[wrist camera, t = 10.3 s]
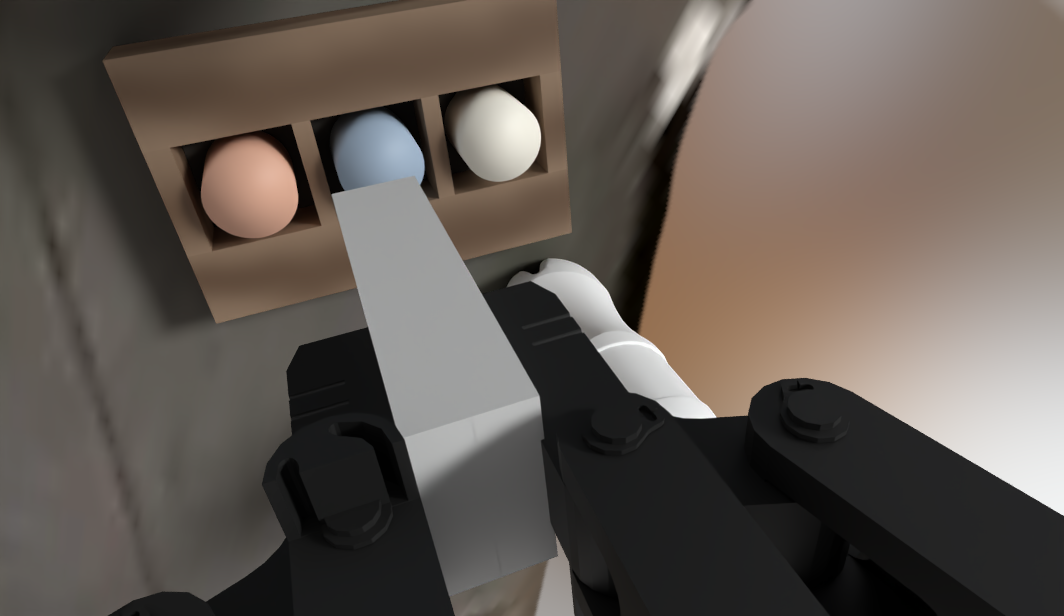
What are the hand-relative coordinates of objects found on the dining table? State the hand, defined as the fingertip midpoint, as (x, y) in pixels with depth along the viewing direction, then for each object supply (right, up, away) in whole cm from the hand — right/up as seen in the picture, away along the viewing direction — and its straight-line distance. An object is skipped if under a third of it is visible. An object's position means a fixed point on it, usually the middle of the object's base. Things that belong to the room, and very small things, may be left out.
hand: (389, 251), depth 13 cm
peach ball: (-12, +6, +24) cm, 28 cm away
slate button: (-6, +8, +25) cm, 27 cm away
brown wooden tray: (-6, +8, +25) cm, 27 cm away
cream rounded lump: (0, +10, +27) cm, 29 cm away
